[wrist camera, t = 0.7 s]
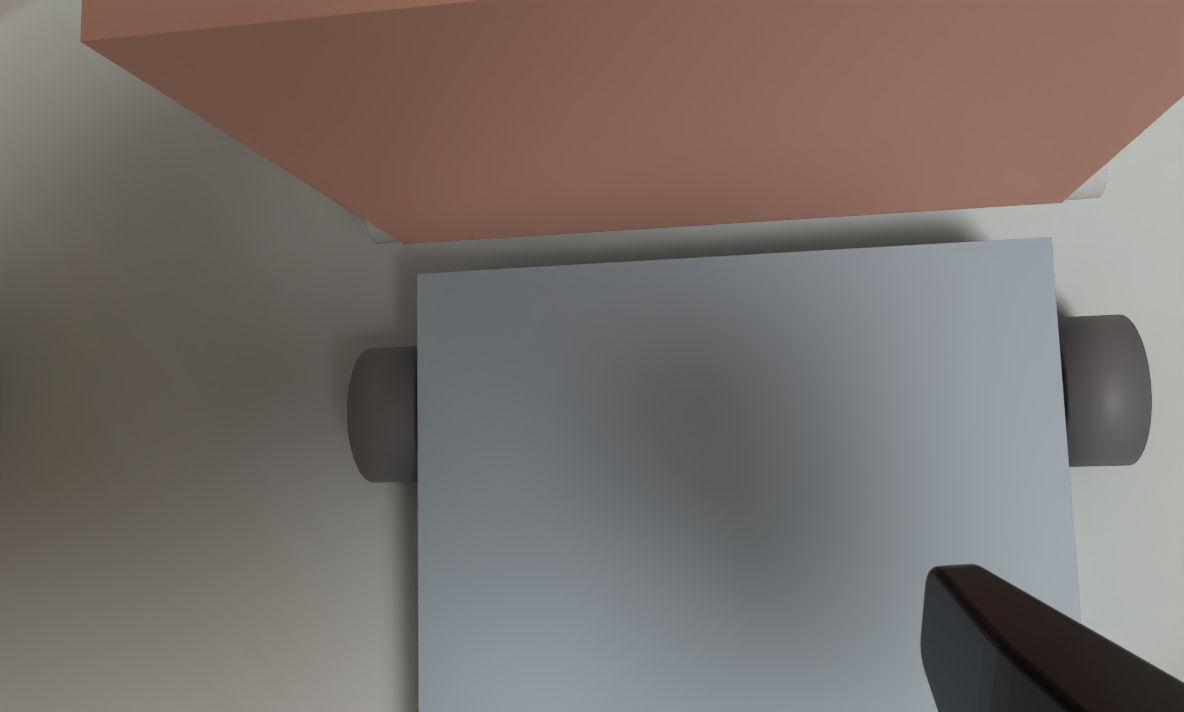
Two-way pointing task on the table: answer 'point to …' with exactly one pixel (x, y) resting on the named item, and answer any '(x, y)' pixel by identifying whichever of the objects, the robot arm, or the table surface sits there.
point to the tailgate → (660, 103)
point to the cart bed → (735, 468)
